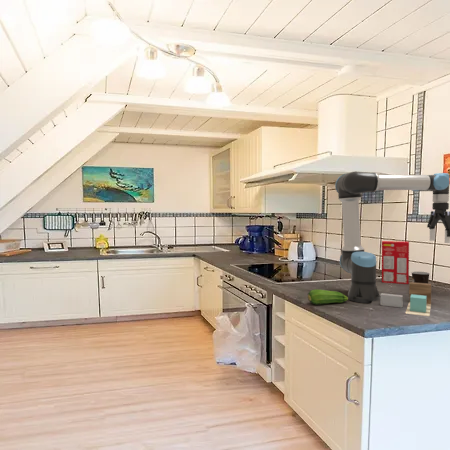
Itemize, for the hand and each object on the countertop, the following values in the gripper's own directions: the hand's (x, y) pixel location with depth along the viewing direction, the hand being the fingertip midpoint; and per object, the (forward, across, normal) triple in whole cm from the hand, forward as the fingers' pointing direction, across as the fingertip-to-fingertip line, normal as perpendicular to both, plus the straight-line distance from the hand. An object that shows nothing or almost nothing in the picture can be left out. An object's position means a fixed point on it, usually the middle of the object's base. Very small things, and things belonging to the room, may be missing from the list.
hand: (439, 241), depth 194 cm
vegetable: (+28, -19, +66) cm, 74 cm away
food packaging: (+27, +25, +12) cm, 39 cm away
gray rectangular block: (+28, -36, +44) cm, 63 cm away
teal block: (+26, -37, +32) cm, 55 cm away
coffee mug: (+27, +1, +10) cm, 29 cm away
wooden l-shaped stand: (+27, -34, +29) cm, 52 cm away
